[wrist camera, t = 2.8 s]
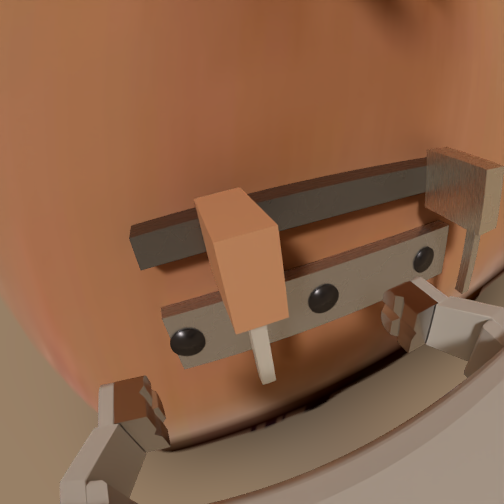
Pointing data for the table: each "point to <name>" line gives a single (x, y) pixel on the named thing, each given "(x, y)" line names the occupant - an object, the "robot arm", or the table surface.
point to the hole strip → (310, 294)
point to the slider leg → (245, 267)
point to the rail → (353, 204)
